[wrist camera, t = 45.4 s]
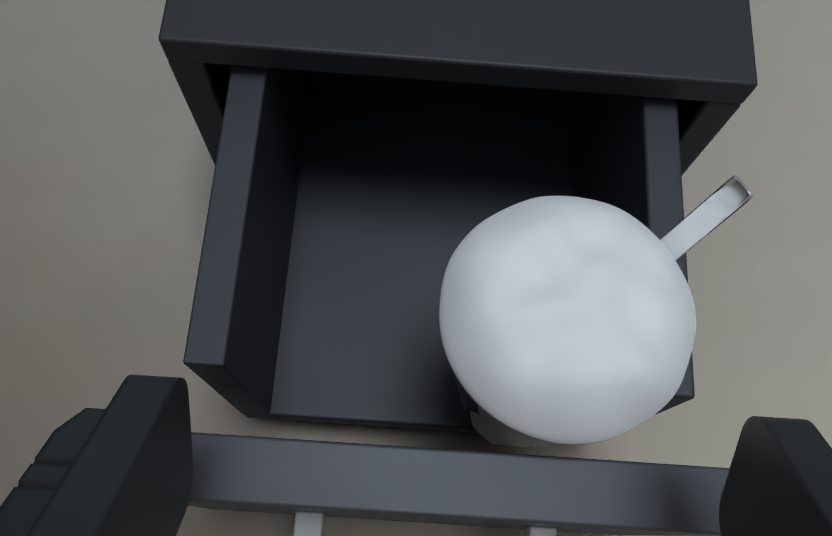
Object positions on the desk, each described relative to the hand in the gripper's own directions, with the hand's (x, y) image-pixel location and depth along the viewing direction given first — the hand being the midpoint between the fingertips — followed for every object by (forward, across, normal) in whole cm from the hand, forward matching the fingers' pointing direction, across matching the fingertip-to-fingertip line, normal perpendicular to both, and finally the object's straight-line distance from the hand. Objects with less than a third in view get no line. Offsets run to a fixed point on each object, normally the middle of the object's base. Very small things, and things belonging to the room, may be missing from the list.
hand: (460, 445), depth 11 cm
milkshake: (+9, -3, +5) cm, 11 cm away
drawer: (+10, 0, +6) cm, 11 cm away
